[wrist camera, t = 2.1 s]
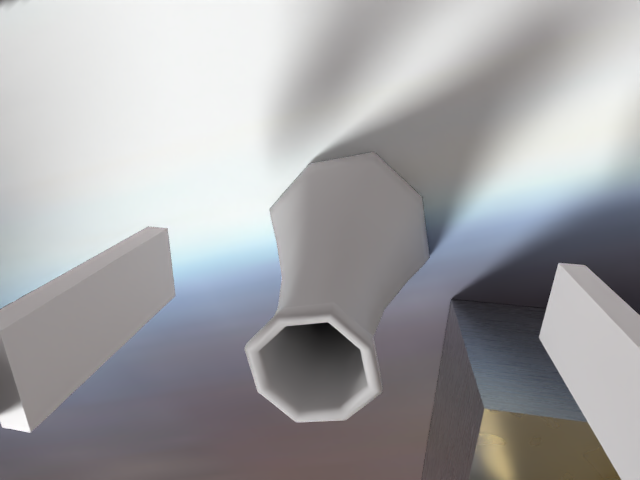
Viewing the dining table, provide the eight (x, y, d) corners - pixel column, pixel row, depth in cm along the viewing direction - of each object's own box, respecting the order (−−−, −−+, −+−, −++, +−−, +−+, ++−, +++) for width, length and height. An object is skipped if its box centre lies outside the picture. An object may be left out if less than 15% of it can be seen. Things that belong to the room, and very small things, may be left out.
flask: (245, 199, 19) (108, 306, 10) (383, 120, 17) (379, 160, 7) (321, 320, 20) (267, 510, 11) (456, 263, 18) (527, 440, 9)
